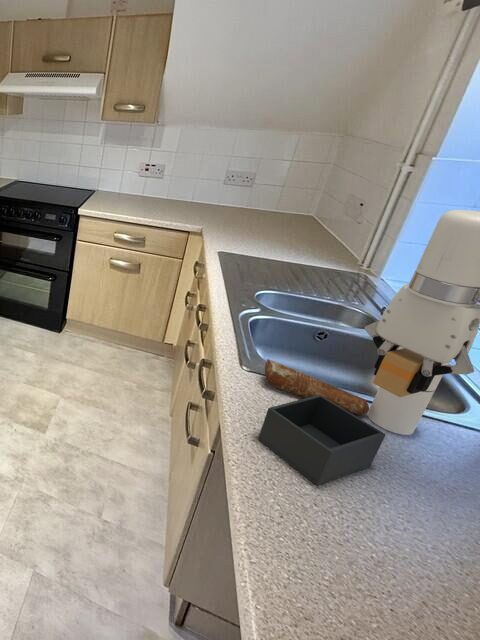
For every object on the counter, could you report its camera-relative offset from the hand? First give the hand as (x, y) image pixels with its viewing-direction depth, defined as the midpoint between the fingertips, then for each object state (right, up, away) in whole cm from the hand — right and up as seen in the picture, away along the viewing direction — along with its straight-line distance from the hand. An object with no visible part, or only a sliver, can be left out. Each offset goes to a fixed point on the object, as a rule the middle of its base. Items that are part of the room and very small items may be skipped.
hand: (397, 381), depth 72 cm
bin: (-9, -16, +8) cm, 20 cm away
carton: (0, -1, 0) cm, 1 cm away
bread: (+4, -11, +23) cm, 26 cm away
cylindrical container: (+15, -14, +16) cm, 26 cm away
